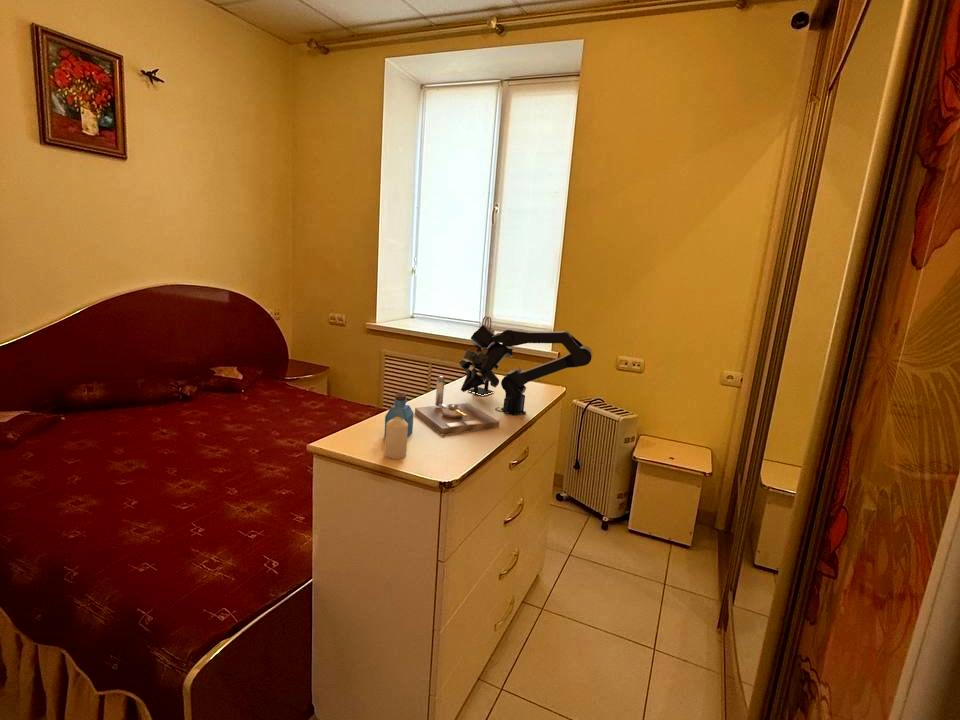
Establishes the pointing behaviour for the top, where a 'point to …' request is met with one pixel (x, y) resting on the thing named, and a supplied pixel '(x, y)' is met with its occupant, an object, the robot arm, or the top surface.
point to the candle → (396, 438)
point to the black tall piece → (479, 389)
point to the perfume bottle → (400, 412)
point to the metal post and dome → (449, 410)
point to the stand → (456, 419)
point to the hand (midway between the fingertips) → (462, 390)
